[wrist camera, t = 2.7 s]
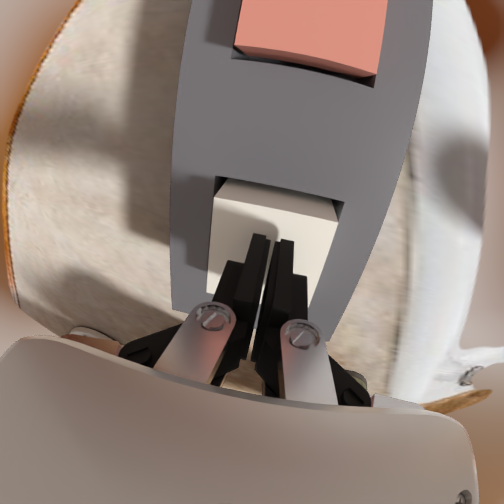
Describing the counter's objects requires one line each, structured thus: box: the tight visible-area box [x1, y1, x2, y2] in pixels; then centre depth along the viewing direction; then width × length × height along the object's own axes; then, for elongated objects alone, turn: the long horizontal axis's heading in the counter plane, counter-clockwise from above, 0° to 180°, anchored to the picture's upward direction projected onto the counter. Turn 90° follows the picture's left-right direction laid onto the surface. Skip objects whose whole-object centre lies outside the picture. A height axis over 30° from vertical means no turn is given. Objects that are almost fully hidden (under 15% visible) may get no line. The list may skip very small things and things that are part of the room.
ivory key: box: [206, 178, 338, 307], centre depth 13 cm, size 5×5×3 cm
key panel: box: [170, 0, 433, 341], centre depth 13 cm, size 23×10×6 cm, turn 171°
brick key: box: [234, 0, 388, 78], centre depth 7 cm, size 5×5×3 cm
